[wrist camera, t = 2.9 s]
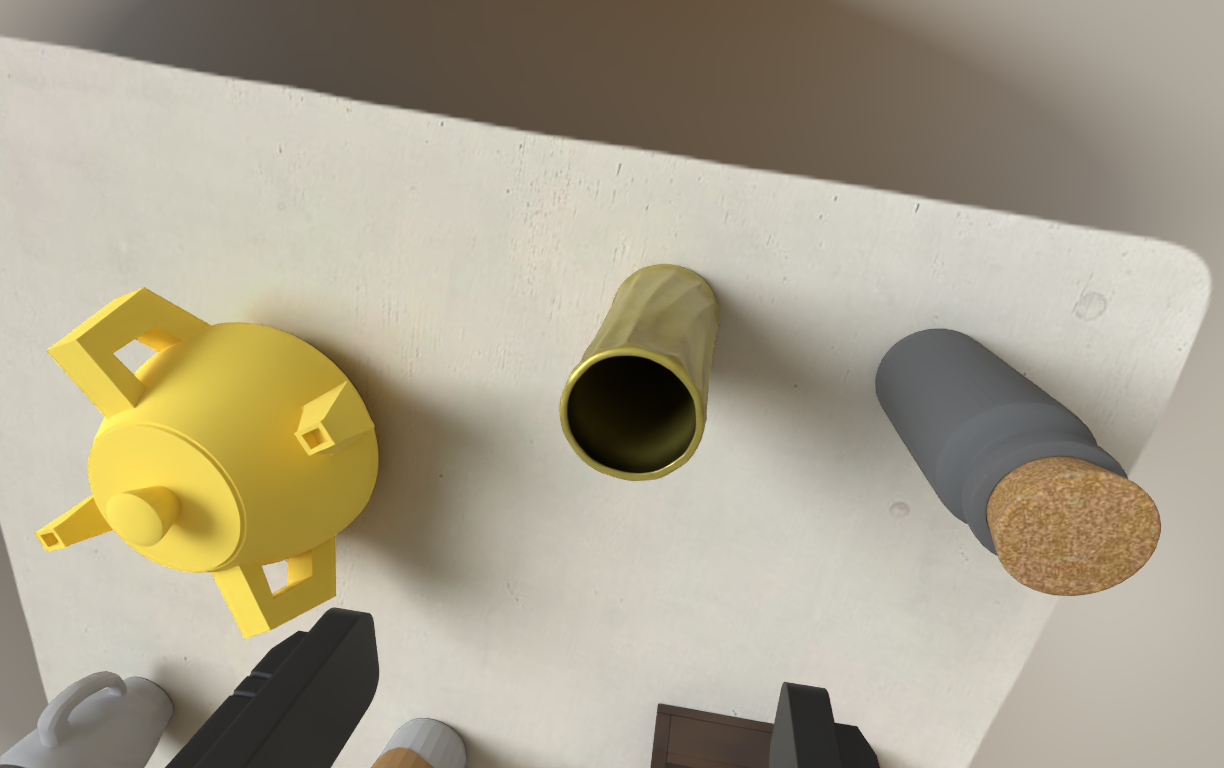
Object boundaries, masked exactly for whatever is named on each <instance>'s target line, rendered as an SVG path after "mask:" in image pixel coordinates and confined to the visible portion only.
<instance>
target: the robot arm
mask: <svg viewBox="0 0 1224 768" xmlns="http://www.w3.org/2000/svg"><path fill="white" fill-rule="evenodd" d="M378 680H379V663H378V655H377V646H376V637H375V629H374V621H373V617H372V615H371V614H370V613H365V612H359V611H353V610H346V609H340V608H331V609H329V610H328V611H326V612H325V613H324V615H323V616H322V617H321V618H320V619H319V620H318V622H317V623H316V624H315V625H314V626H313V627H312V629H311V630H310V631H309V632H303V631H298V632H296V633H295V634H293V635H292V636H290V637H289V638H287V639H286V640H284V641H283V642H281V643H279V644H278V645H276V646H275V647H273V648H272V649H271V650H270V651H269V652H268V653H267V654H266V656H265V657H264V658H263V659H262V660H261V661H260V662H259V663H258V664H257V666H256V667H255V668H254V669H253V670H252V671H251V675H250V676H247V677H246V678H245V679H244V680H243V681H242V682H241V683H240V685H239V686H238V687H237V688H236V689H235V690H234V694H233V695H232V696H231V695H230V696H229V697H228V698H227V699H226V700H225V701H224V702H223V704H222V705H221V706H220V707H219V708H218V709H217V710H216V711H215V712H214V714H213V715H212V716H211V717H210V718H209V719H208V720H207V721H206V723H205V724H204V725H203V726H202V727H201V728H200V729H199V730H198V731H197V733H196V734H195V735H194V736H193V737H192V738H191V739H190V740H189V742H188V743H187V744H186V745H185V746H184V747H183V748H182V749H181V750H180V752H179V753H178V754H177V755H176V756H175V757H174V758H173V759H172V761H171V762H170V763H169V764H168V765H167V766H166V767H165V768H331V766H332V765H333V763H334V761H335V760H336V758H337V757H338V755H339V753H340V752H341V750H342V749H343V747H344V746H345V744H346V742H347V741H348V739H349V738H350V736H351V734H352V733H353V731H354V730H355V728H356V726H357V725H358V723H359V722H360V720H361V718H362V717H363V715H364V714H365V712H366V710H367V709H368V707H369V706H370V704H371V702H372V700H373V697H374V695H375V692H376V689H377V685H378ZM769 768H880V766H879V763H878V759H877V755H876V754H875V752H874V751H873V749H872V748H871V746H870V745H869V743H868V742H867V740H866V739H865V737H864V736H863V734H862V733H861V731H860V730H859V728H858V727H857V726H851V725H845V724H839V723H834V718H833V713H832V708H831V703H830V698H829V694H828V692H827V690H826V689H825V688H819V687H813V686H807V685H800V684H794V683H788V682H784V683H783V685H782V688H781V693H780V698H779V703H778V708H777V713H776V718H775V723H774V728H773V733H772V738H771V745H770V756H769Z"/></svg>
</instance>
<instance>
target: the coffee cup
mask: <svg viewBox="0 0 1224 768" xmlns="http://www.w3.org/2000/svg"><path fill="white" fill-rule="evenodd" d="M465 766H466V748H465V745H464V742H463V741H462V739H461V738H460V736H459V735H458V734H457V733H456V732H455V731H454V730H453V729H452V728H450V727H448V726H447V725H445V724H443V723H441V722H439V721H436V720H432V719H425V718H419V719H414V720H411V721H409V722H407V723H406V724H405V725H404V726H402V727H400V728H399V729H398V730H397V731H396V732H395V733H394V735H393V737H392V738H391V740H390V741H389V743H388V744H387V746H386V747H385V749H384V750H383V752H382V753H381V755H380V756H379V758H378V759H377V760H376V762H375V763H374V764H373V766H372V767H371V768H465Z"/></svg>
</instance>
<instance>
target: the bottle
mask: <svg viewBox="0 0 1224 768" xmlns="http://www.w3.org/2000/svg"><path fill="white" fill-rule="evenodd" d="M875 382H876V393H877V396H878V400H879V402H880V404H881V406H882V408H883V409H884V411H885V413H886V414H887V416H888V418H889V419H890V421H891V423H892V425H893V426H894V428H895V430H896V431H897V433H898V434H899V436H900V438H901V439H902V441H903V442H904V444H905V445H906V447H907V449H908V450H909V452H910V453H911V455H912V456H913V458H914V460H915V461H916V463H917V464H918V466H919V468H920V469H921V471H922V472H923V474H924V475H925V477H926V479H927V480H928V482H929V483H930V485H931V486H932V488H933V489H934V491H935V492H936V494H937V495H938V497H939V498H940V500H941V501H942V503H943V504H944V505H945V506H946V508H947V509H948V510H949V511H950V512H951V513H952V514H953V515H954V516H955V517H957V518H958V519H960V520H961V521H963V522H964V523H966V524H968V525H969V527H970V529H971V530H972V532H973V533H974V535H975V536H976V538H977V539H978V540H979V541H980V542H981V544H982V545H983V546H984V547H986V548H987V549H988V550H989V551H990V552H992V553H993V554H995V555H996V556H998V558H999V560H1000V562H1001V563H1002V565H1003V567H1004V568H1005V570H1006V571H1007V572H1008V573H1009V574H1010V575H1011V576H1012V577H1013V578H1015V579H1016V580H1017V581H1018V582H1020V583H1021V584H1023V585H1025V586H1027V587H1029V588H1031V589H1033V590H1036V591H1039V592H1042V593H1047V594H1052V595H1062V596H1076V595H1085V594H1091V593H1096V592H1099V591H1102V590H1106V589H1108V588H1111V587H1113V586H1115V585H1117V584H1119V583H1122V582H1123V581H1125V580H1126V579H1128V578H1129V577H1131V576H1132V575H1133V574H1135V573H1136V572H1137V571H1138V570H1139V569H1141V568H1142V567H1143V566H1144V565H1145V563H1146V562H1147V561H1148V560H1149V559H1150V557H1151V555H1152V554H1153V552H1154V551H1155V549H1156V546H1157V543H1158V540H1159V537H1160V532H1161V522H1160V515H1159V512H1158V509H1157V507H1156V505H1155V503H1154V501H1153V500H1152V499H1151V497H1150V496H1149V495H1148V494H1147V493H1146V492H1145V491H1144V490H1143V489H1142V488H1141V487H1139V486H1138V485H1137V484H1136V483H1134V482H1132V481H1130V480H1128V477H1127V475H1126V473H1125V472H1124V470H1123V469H1122V467H1121V466H1120V464H1119V463H1118V462H1117V461H1116V460H1115V459H1114V458H1113V457H1112V456H1111V455H1109V454H1108V453H1107V452H1106V451H1105V450H1103V449H1102V448H1101V447H1099V446H1097V443H1096V440H1095V438H1094V436H1093V434H1092V433H1091V431H1090V430H1089V428H1088V427H1087V426H1086V425H1085V424H1084V423H1083V422H1082V421H1081V420H1080V419H1079V418H1078V417H1077V416H1076V415H1075V414H1073V413H1072V412H1071V411H1070V410H1068V409H1067V408H1066V407H1065V406H1063V405H1062V404H1061V403H1059V402H1058V401H1057V400H1055V399H1054V398H1053V397H1051V396H1050V395H1049V394H1047V393H1046V392H1045V391H1043V390H1042V389H1041V388H1039V387H1038V386H1037V385H1035V384H1034V383H1032V382H1031V381H1030V380H1028V379H1027V378H1026V377H1024V376H1023V375H1022V374H1020V373H1019V372H1018V371H1016V370H1015V369H1013V368H1012V367H1011V366H1009V365H1008V364H1007V363H1005V362H1004V361H1003V360H1001V359H1000V358H999V357H997V356H996V355H994V354H993V353H992V352H990V351H989V350H988V349H986V348H985V347H984V346H982V345H981V344H980V343H978V342H977V341H975V340H973V339H972V338H970V337H969V336H967V335H965V334H963V333H960V332H957V331H953V330H948V329H928V330H924V331H919V332H916V333H914V334H912V335H909V336H907V337H905V338H904V339H902V340H901V341H899V342H898V343H896V344H895V345H894V346H893V347H892V348H891V349H890V350H889V351H888V352H887V353H886V355H885V356H884V358H883V359H882V361H881V363H880V365H879V367H878V371H877V374H876V381H875Z"/></svg>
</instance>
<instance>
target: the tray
mask: <svg viewBox="0 0 1224 768" xmlns="http://www.w3.org/2000/svg"><path fill="white" fill-rule="evenodd" d="M773 728H774V724H769V723H763V722H758V721H752V720H747V719H741V718H735V717H730V716H724V715H719V714H713V713H708V712H702V711H697V710H691V709H686V708H680V707H675V706H669V705H664V704H658V708H657V716H656V725H655V734H654V742H653V751H652V760H651V768H769V756H770V745H771V738H772V733H773Z"/></svg>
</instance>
